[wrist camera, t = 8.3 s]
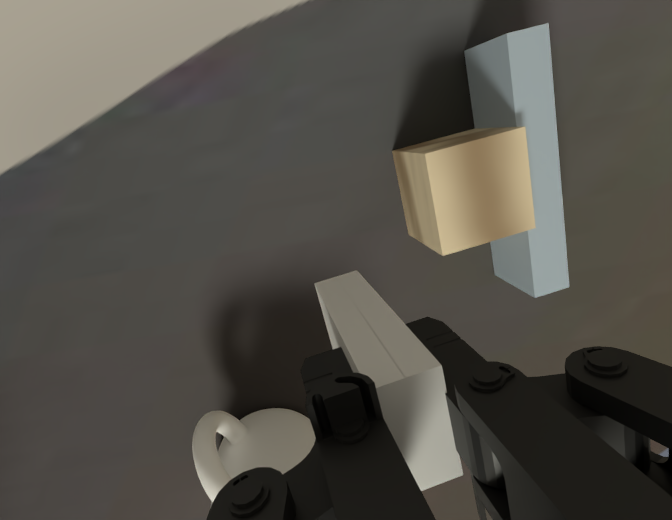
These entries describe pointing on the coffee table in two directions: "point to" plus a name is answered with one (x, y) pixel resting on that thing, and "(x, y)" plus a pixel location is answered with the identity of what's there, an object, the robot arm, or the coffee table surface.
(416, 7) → the coffee table surface
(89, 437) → the coffee table surface
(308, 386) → the robot arm
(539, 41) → the board
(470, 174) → the block
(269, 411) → the mug
